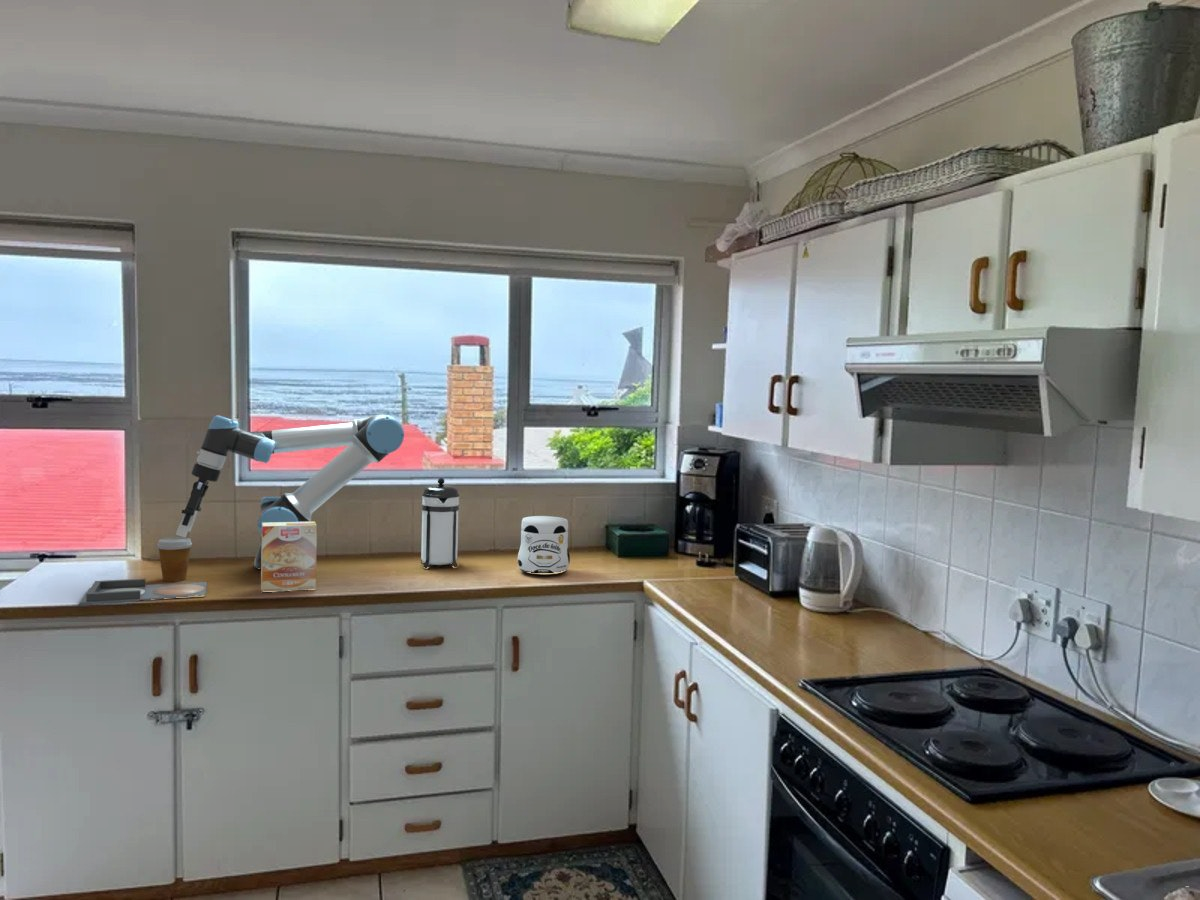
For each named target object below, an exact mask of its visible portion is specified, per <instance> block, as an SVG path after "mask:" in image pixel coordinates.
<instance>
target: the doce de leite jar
mask: <svg viewBox="0 0 1200 900" xmlns="http://www.w3.org/2000/svg"><path fill="white" fill-rule="evenodd" d="M520 526H521V529H520V547H519V551H518V552H517V565H518V568H519V570H520V571H521V572H523V571H525V572H524V573H526V572H531V573H554V572H561V571H564V570H568V569H569V567H570V561H571V560H570V559H571V557H570V550H569V547H568V546H569V545H568V539H569V521H568V519H567V518H564V517H561V516H560V517H559V516H549V515H534V516H533V515H532V516H526V517H522V520H521V524H520Z"/></svg>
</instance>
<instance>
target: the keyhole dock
mask: <svg viewBox="0 0 1200 900" xmlns="http://www.w3.org/2000/svg"><path fill="white" fill-rule="evenodd" d="M146 581H147V579H146V578H128V579H108V580H106V579H105V580H95V581H94V582H93V583H92V585H91V587H89V588H88V589H87V591H86V592H85V594H83V597H82V598H81V599H80V601H79V606H82V605H95V604H96V605H97V603H101V604H111V603H110V602H118V603H125V602H124V601H135V602H139V601H138V600H151V599H164V598H176V597H188V596H195V595H198V596H201V595H205V593H206V592H207V587H206V586H207V585H208V582H207V581H200V582H199V581H198V582H197V581H196V582H179V583H178V582H177V583H160V584H146ZM206 594H207V593H206ZM205 596H206V595H205ZM122 601H123V602H122ZM107 602H109V603H107Z"/></svg>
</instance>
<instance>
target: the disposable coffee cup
mask: <svg viewBox="0 0 1200 900" xmlns="http://www.w3.org/2000/svg"><path fill="white" fill-rule="evenodd" d="M192 545H193V542H192V540H191V538H189V537H165V538H161V539H159V540H158V541H157V544H156V546H157V549H158V553H159V554H158V555H159V560H160V568H161V576H162V581H163V582H167V581H169V582H170V581H176V582H180V581H181V580H182V581H185V580H187V577H188V570H189V569H188V568H189V561H190V556H191V555H190V554H191V547H192ZM182 581H181V582H182ZM169 582H168V583H169Z"/></svg>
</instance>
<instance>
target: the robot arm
mask: <svg viewBox="0 0 1200 900" xmlns="http://www.w3.org/2000/svg"><path fill="white" fill-rule="evenodd" d="M208 426H209V427H207V431H206V434H205V436H204V439H203V441H202V445H201V447H200V450H198V451H197V452H196V454H197V457H196V463H194V466H193V468H192V470H191V475H192V476H193V477H196V478H198V480H197V481H195V482H193V484H192V490H191V491H190V497H189V499H188V502H187V503H186V507H185V508H184V509H181V514H183V515H182V517H181V519H180V521H179V525H178V527H177V530H176V533H175V535H176V536H179V537H181V538H187V534H188V532H189V533H190V532H191V531H192V528H193V525H194V523H195V520H196V517H197V515H198V512H201V510H202V507H201V504H202V502H203V498H204V497H205V495H206V493H207V491H208V489H209V487H210V486H209V482H213V483H216V482H218V480H219V477H220V474H221V470H220V469H223V467H224V464H225V462H226V459H227V456H228V453H232V454H236V455H239V456H242V457H245V458H247V459H251V460H254V461H255V462H261V463H265V464H267V463H269V462H270V460H271V457H272V455H273V454H280V453H281V454H282V453H291V452H301V451H309V450H311V451H312V450H321V449H330V448H331V449H332V448H340V447H341V448H342V447H346V448H344V449H343V450H342V451H341V452H340V453H338V455H336V456H335V457H333V458H332V459H331V460H330V461H329V462H328V463H326V465H325V466H323V467H321V469H320V470H318V471H317V472H316V473H315V474H314V475H312V476H311V477H310V478H309V479H307V481H305V482H304V483H303V484H302V485H300V486H299V487H298V488H296V490H295V491H293V492H290V493H289V492H285V493H283V495H281V496H263V497H262V498H261V499H260V504H259V507H260V515H259V517H258V520H257V530H258V533H259V534H260V538H259V539H260V541H259V546H258V549H257V552H256V555H255V557H254V561H253V562H254V566H255V567H256V568H260V569H261V547H262V523H267V522H311V521H312V515H313V513H314V512H315V511H317V510H318V509H319V508H320V507H322V505H323V504H325V502H327V501H328V500H329V499H331V497H333V496H334V495H335V494H337V492H339V490H342V488H343V487H345V485H347V484H348V483H349V482H350V481H351V480H353V479H354V477H356V476H357V475H359V474H360V473H361V472H362V471H363V470H364V469H365V468H367V467H368V466H369V465H370V464H371V463H374V464H375V463H377V464H378V463H381V461H382V460H383V459H384V458H385V457H386V456H388V455H389V454H392V453H394V452H396V450H398V449H399V448H400V447H401V445H402V444H403V442H404V439H405V438H404V437H405V431H404V428H403V425H402V424H401V422H400V420H399V419H397V418H396V417H394V416H392V415H388V414H383V413H381V414H376V415H372V416H368V417H364V418H363V417H362V418H356V419H355V418H354V419H353V420H352V422H343V423H335V424H326V425H325V424H324V425H313V426H304V427H293V428H292V427H291V428H283V429H272V430H264V431H263V430H262V431H261V430H260V431H259V430H256V431H250V432H249V431H247V430H246V431H245V430H243V429H241V428H239V422H238V421H237V420H234V419H231V418H228V417H225V416H222V415H215V416H213V417H212V419H211V421H210V423H209V425H208ZM255 567H254V568H255ZM256 568H255V569H256Z"/></svg>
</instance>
